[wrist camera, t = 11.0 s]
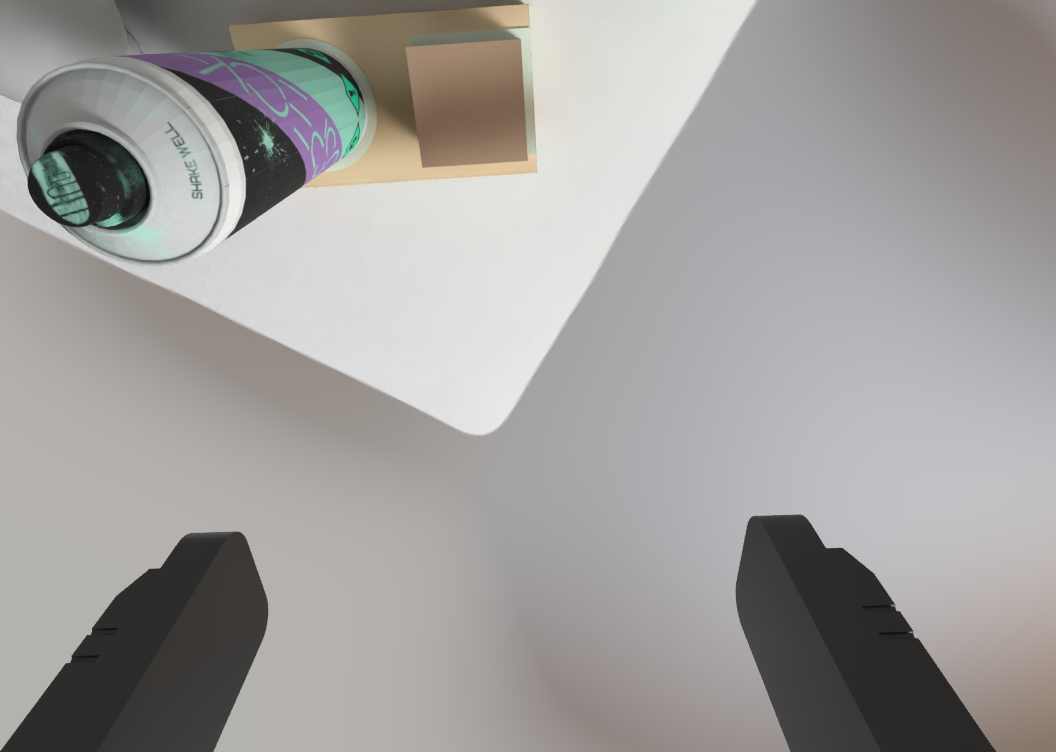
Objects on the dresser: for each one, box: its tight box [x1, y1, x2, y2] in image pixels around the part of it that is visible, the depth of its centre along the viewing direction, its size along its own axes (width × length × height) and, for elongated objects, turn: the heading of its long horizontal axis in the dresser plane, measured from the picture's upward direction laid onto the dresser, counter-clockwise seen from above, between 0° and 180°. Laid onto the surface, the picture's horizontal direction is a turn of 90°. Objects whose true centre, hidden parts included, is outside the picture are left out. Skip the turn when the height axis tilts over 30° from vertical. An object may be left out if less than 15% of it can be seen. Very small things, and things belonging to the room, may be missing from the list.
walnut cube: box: [405, 39, 528, 168], centre depth 29 cm, size 5×5×5 cm
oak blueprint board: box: [228, 4, 537, 188], centre depth 32 cm, size 8×15×3 cm, turn 93°
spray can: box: [17, 48, 368, 267], centre depth 22 cm, size 6×6×20 cm
